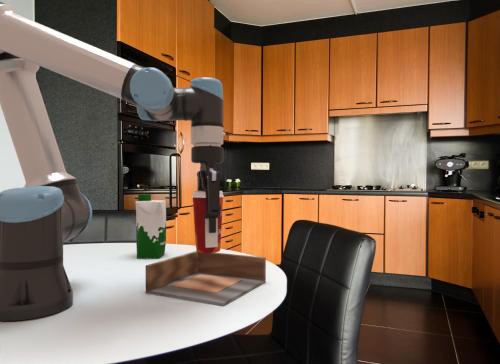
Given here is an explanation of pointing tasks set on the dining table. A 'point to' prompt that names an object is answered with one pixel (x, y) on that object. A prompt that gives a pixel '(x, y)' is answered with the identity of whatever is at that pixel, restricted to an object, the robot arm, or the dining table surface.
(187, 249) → the dining table surface
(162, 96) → the robot arm
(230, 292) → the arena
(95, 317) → the dining table surface
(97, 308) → the dining table surface
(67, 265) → the dining table surface
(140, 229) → the milk carton
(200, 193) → the paper cup
